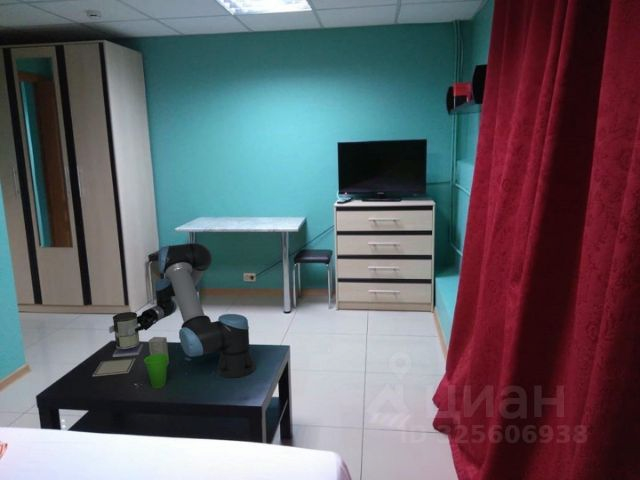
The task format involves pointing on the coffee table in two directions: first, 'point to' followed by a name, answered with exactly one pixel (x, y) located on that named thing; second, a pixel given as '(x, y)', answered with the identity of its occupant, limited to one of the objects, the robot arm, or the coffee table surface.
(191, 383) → the coffee table surface
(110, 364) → the cream square tile
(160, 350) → the skincare box
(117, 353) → the ink pad
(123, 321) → the coffee can
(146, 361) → the cup
